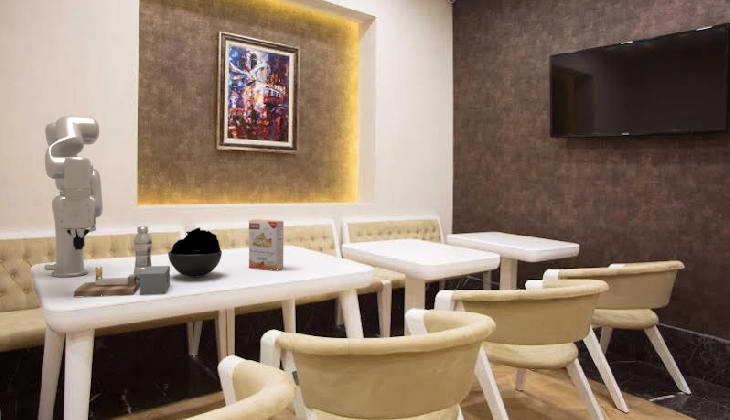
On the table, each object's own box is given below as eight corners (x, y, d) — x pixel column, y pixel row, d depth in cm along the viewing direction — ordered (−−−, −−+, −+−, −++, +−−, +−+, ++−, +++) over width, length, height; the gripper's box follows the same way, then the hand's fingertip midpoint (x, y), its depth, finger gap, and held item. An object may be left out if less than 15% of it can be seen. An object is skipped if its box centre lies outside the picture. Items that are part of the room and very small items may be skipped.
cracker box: (248, 268, 228) (248, 219, 226) (256, 266, 233) (256, 218, 232) (276, 271, 222) (276, 221, 221) (283, 268, 228) (283, 220, 226)
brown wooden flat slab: (73, 297, 173) (73, 281, 172) (85, 287, 186) (85, 273, 186) (133, 294, 177) (133, 279, 177) (140, 286, 190) (140, 271, 190)
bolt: (95, 284, 179) (94, 268, 179) (96, 283, 182) (96, 267, 181) (133, 283, 182) (133, 267, 182) (134, 282, 184) (134, 266, 184)
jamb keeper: (139, 294, 177) (139, 273, 177) (146, 285, 191) (146, 266, 190) (165, 293, 179) (165, 273, 179) (170, 284, 193) (169, 265, 192)
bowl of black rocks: (202, 283, 196) (202, 233, 195) (157, 279, 202) (156, 230, 200) (231, 273, 215) (231, 227, 214) (189, 270, 221) (188, 225, 219)
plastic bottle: (137, 277, 206) (136, 225, 204) (155, 277, 206) (154, 226, 205) (131, 280, 199) (130, 227, 198) (149, 280, 200) (149, 227, 198)
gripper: (48, 194, 171) (50, 251, 172) (99, 194, 175) (100, 249, 176) (56, 194, 179) (57, 248, 180) (104, 194, 182) (105, 247, 183)
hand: (79, 249), depth 178 cm, fingers closed
